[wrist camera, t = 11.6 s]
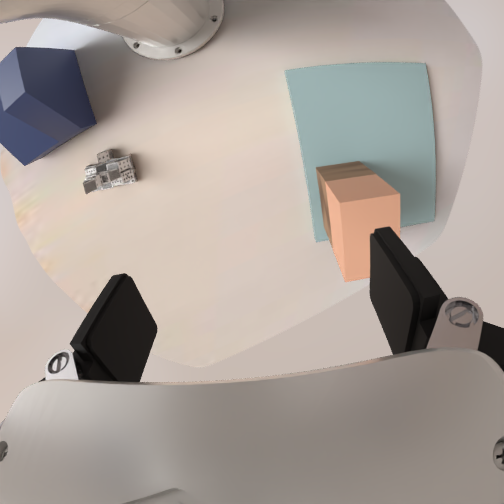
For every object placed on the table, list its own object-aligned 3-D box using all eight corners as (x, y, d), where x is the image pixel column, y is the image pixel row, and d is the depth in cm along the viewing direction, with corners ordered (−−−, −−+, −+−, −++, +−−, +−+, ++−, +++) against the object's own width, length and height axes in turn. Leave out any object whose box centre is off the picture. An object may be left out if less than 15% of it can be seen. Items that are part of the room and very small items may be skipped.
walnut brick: (315, 167, 33) (325, 181, 28) (359, 161, 32) (376, 174, 27) (323, 227, 37) (333, 250, 32) (363, 220, 36) (379, 242, 31)
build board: (284, 71, 28) (285, 70, 27) (421, 63, 26) (425, 63, 25) (314, 237, 39) (316, 242, 38) (430, 217, 37) (434, 221, 36)
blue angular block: (40, 158, 34) (-13, 185, 23) (20, 92, 28) (-36, 105, 17) (97, 123, 32) (40, 141, 21) (74, 50, 26) (15, 47, 15)
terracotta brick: (325, 181, 28) (339, 203, 23) (376, 174, 27) (400, 193, 22) (332, 250, 32) (345, 282, 27) (378, 242, 31) (398, 271, 26)
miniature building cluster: (138, 115, 32) (110, 121, 25) (150, 178, 36) (127, 199, 29) (82, 131, 32) (49, 143, 26) (95, 189, 37) (66, 210, 30)
